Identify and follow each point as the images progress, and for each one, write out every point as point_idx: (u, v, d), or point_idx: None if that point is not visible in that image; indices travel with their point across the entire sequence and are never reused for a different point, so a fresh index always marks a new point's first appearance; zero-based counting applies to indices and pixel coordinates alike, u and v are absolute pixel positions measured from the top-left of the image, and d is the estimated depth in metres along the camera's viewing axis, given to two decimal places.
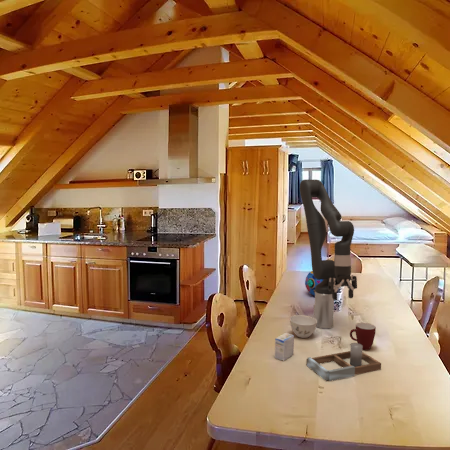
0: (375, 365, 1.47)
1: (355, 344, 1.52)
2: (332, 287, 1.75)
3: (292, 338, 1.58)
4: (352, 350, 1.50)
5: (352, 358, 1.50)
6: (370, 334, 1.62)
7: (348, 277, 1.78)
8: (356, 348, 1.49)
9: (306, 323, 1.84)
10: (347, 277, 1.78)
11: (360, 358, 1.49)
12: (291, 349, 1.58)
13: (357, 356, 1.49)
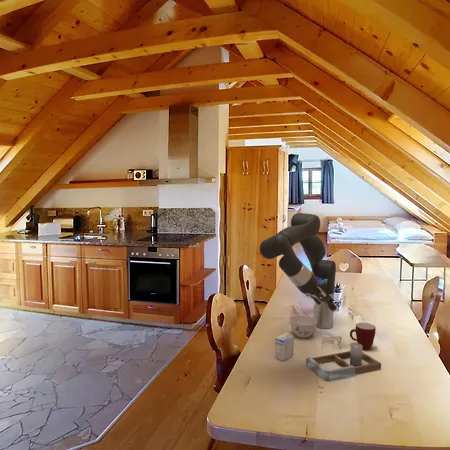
0: (375, 365, 1.47)
1: (355, 344, 1.52)
2: (305, 293, 1.47)
3: (292, 338, 1.58)
4: (352, 350, 1.50)
5: (352, 358, 1.50)
6: (370, 334, 1.62)
7: (313, 292, 1.37)
8: (356, 348, 1.49)
9: (306, 323, 1.84)
10: (312, 292, 1.38)
11: (360, 358, 1.49)
12: (291, 349, 1.58)
13: (357, 356, 1.49)
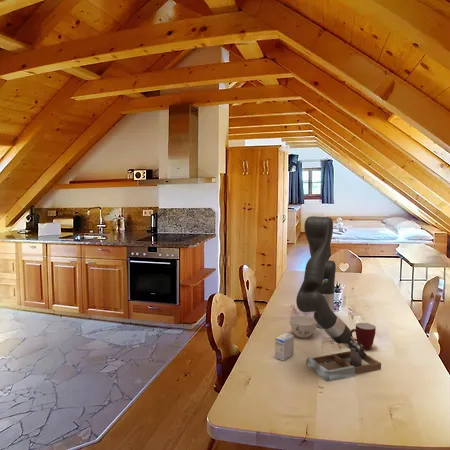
0: (375, 365, 1.47)
1: None
2: None
3: (292, 338, 1.58)
4: (352, 350, 1.50)
5: (352, 358, 1.50)
6: (370, 334, 1.62)
7: (347, 342, 1.46)
8: None
9: (306, 323, 1.84)
10: (346, 341, 1.46)
11: (360, 358, 1.49)
12: (291, 349, 1.58)
13: (357, 356, 1.49)
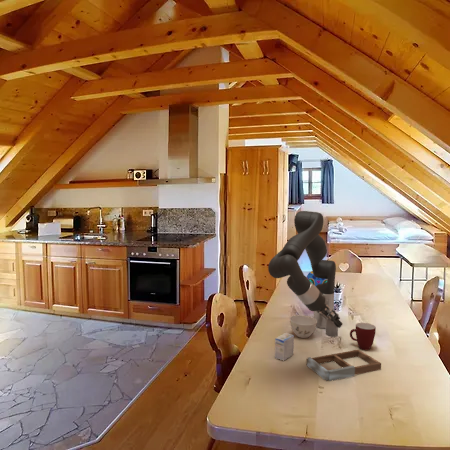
0: (375, 365, 1.47)
1: None
2: (317, 312, 1.49)
3: (292, 338, 1.58)
4: (328, 319, 1.44)
5: (328, 327, 1.44)
6: (370, 334, 1.62)
7: (321, 310, 1.40)
8: None
9: (306, 323, 1.84)
10: (320, 309, 1.41)
11: (336, 327, 1.44)
12: (291, 349, 1.58)
13: (332, 325, 1.43)
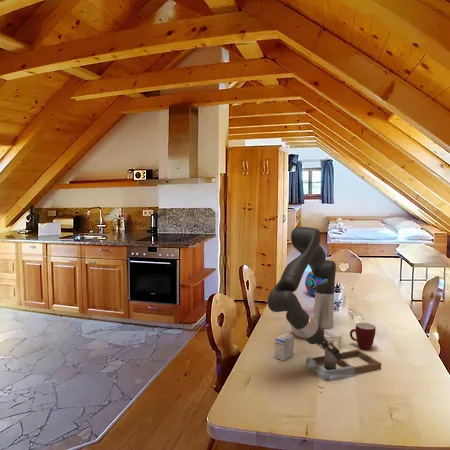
0: (375, 365, 1.47)
1: None
2: None
3: (292, 338, 1.58)
4: (326, 355, 1.46)
5: (326, 363, 1.46)
6: (370, 334, 1.62)
7: (320, 343, 1.41)
8: (330, 353, 1.44)
9: None
10: (319, 342, 1.42)
11: (334, 363, 1.45)
12: (291, 349, 1.58)
13: (331, 361, 1.45)
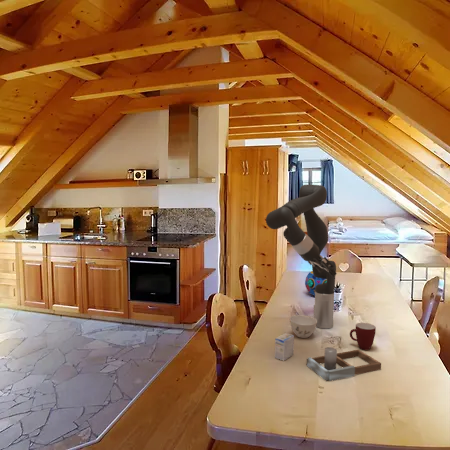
0: (375, 365, 1.47)
1: (329, 348, 1.47)
2: (308, 262, 1.61)
3: (292, 338, 1.58)
4: (326, 355, 1.46)
5: (326, 363, 1.46)
6: (370, 334, 1.62)
7: (315, 260, 1.51)
8: (330, 352, 1.44)
9: (306, 323, 1.84)
10: (314, 259, 1.52)
11: (334, 363, 1.45)
12: (291, 349, 1.58)
13: (331, 361, 1.45)
